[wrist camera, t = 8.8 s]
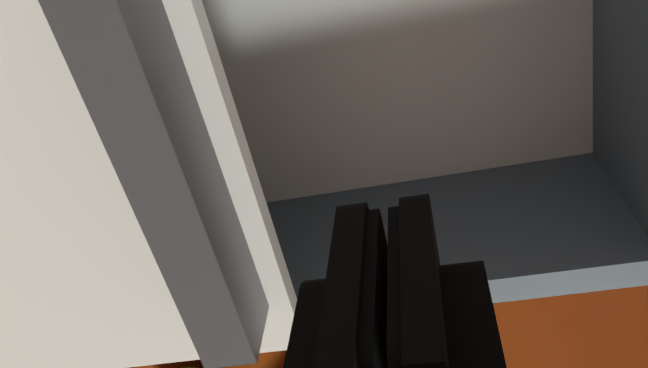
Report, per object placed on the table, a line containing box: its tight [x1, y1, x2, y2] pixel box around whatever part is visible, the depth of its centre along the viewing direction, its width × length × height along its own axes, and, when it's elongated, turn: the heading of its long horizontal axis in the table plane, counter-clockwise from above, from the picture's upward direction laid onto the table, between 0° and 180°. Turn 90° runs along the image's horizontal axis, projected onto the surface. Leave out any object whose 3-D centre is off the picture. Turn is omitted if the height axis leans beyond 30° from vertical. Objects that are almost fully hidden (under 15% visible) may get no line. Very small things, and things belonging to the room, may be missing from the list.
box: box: [202, 0, 648, 303], centre depth 21 cm, size 22×16×8 cm
